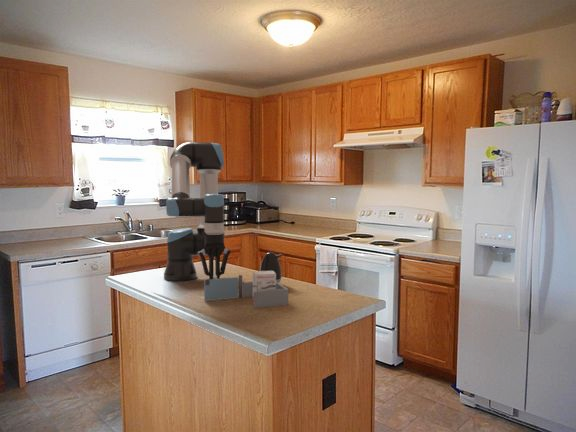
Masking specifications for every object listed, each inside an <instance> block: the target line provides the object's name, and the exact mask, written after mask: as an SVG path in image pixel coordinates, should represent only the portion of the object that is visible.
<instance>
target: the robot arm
mask: <svg viewBox="0 0 576 432" xmlns="http://www.w3.org/2000/svg"><path fill="white" fill-rule="evenodd" d="M169 166H170V168H171V197H168V198H166V201H165V203H166V206H165V208H166V210H165V211H166V215H167V216H168V217H174V218H175V217H176V218H179V217H180V218H182V217H183V218H185V217H199V219H200V220H199V225H197V227H196V231H194V230H193V228H191V227H187V228H178V229H173V230H171V231H169V232H168V233H167V238H166V239H167V240H166V243H167V263H166V267H165V271H164V273H163V279H164V280H166V281H172V282H184V281H190V280H194V279H196V278H197V273H198V272H197V270H196V267H195V264H194V259H193V256H199V257H200V260H201V261H200V262H201V265H202V268H203V272H204V275H206V276H209V278H208V279H220V277H221V276H223V275H224V274H225V272H226V266H227V263H228V259H229V258H228V257H229V256H230V254H231V253H232V252H231V250H230V249H228V248H226V245H225V234H226V233H225V221H224V218H225V217H224V216H225V213H224V212H225V201H224V195H223V194H221V193H219V182H218V181H219V177H218V175H219V174H220V172H221V171H222V168H224V167H225V163H224V152H223V148H222V145H221V144H220V143H215V142H194V141H193V142H192V141H191V142H190V141H189V142H184V143H182V144H180V145H178V146H177V147H176V148H175V149H174V150H173V151H172V153H171V155H170V157H169ZM191 167H192V168H196V172H197V173H198V174H199V197H191V191H190V190H191V189H190V168H191ZM222 254H223V256H222V261H221V255H222ZM205 256H208V265H207V260H206V257H205ZM214 259H215V260H214ZM214 263H215V264H214ZM214 268H215V270H214ZM214 272H215V274H214Z"/></svg>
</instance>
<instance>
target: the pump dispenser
mask: <svg viewBox="0 0 576 432" xmlns="http://www.w3.org/2000/svg"><path fill="white" fill-rule="evenodd" d="M281 257H283V254H282V253H279V254H276V253H275V252H273V251H269V252H266V253H265V254H264V256H263V258H262V260H261V262H260V267H259V271H274V272H275V273H276V281H277V282H278V283H280V282H281V280H282V277H283V276H282V275H283V274H282V268H281V267H282V266H281V263H280V261H279V258H281Z"/></svg>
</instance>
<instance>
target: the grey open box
mask: <svg viewBox="0 0 576 432" xmlns="http://www.w3.org/2000/svg"><path fill="white" fill-rule="evenodd" d="M250 297H252V298H253V280H252V281H244V282H243V274H239V275H238V299H242V298H250ZM252 303H253V308H254V309H260V308H268V307H277V306H278V307H280V306H286V305H287V306H288V305H289V288H287V287H286V286H284V285H283V284H282V283H280V282H279V283H278V282H277V281H276V290H266V291H256V292H254V301H253V300H252Z"/></svg>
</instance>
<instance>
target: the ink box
mask: <svg viewBox="0 0 576 432" xmlns="http://www.w3.org/2000/svg"><path fill="white" fill-rule="evenodd" d="M252 281H253V297H252V302H253V301H254V292H256V291H266V290H276V273H275V272H274V271H260V270H258V271H257V270H255V271H253V272H252Z"/></svg>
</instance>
